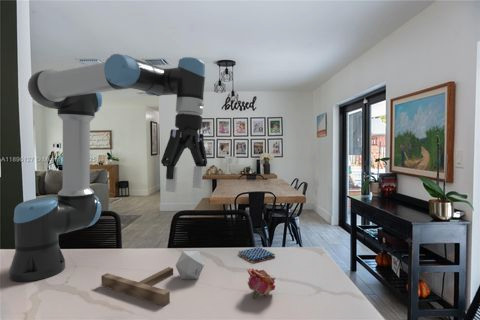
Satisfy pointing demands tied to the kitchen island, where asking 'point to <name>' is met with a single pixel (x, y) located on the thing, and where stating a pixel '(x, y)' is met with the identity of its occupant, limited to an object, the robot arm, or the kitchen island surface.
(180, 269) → the die
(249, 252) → the woven mat
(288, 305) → the kitchen island surface
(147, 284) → the walnut T rail
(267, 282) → the flower
